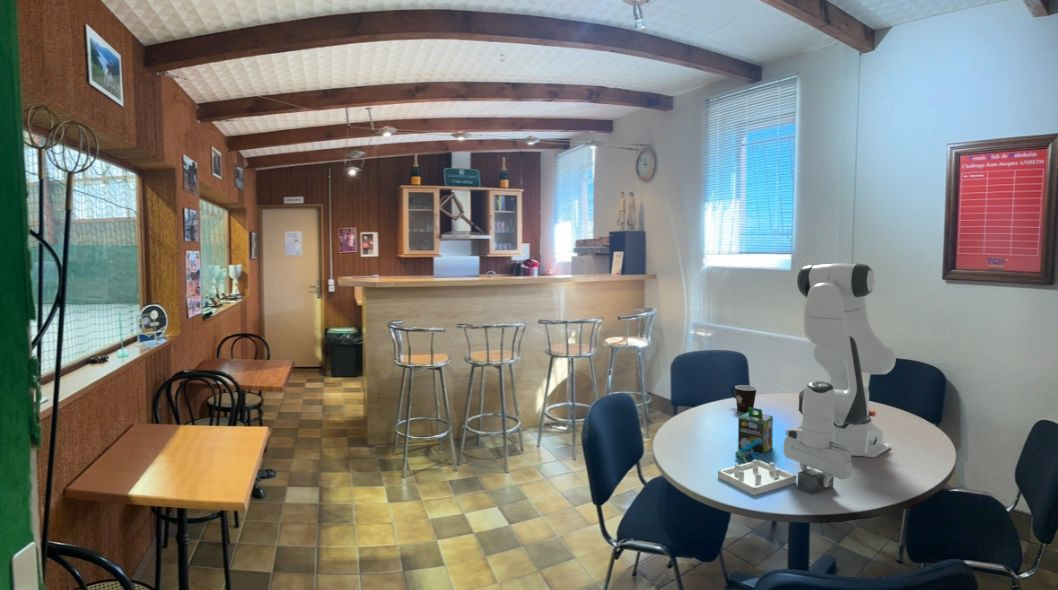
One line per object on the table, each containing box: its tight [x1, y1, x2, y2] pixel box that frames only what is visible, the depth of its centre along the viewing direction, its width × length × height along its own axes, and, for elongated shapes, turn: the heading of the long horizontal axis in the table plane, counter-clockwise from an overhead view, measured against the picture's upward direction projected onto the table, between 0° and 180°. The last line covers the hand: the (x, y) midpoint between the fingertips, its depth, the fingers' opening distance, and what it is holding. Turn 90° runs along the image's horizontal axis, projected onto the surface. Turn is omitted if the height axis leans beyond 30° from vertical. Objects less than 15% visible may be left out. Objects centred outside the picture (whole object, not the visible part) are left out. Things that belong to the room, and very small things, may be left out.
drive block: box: [797, 467, 835, 495], centre depth 168 cm, size 10×4×5 cm, turn 117°
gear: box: [734, 438, 761, 463], centre depth 190 cm, size 11×6×10 cm
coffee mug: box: [730, 384, 757, 414], centre depth 245 cm, size 12×9×10 cm
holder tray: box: [717, 459, 797, 496], centre depth 174 cm, size 18×14×4 cm
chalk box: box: [737, 407, 774, 455], centre depth 200 cm, size 9×9×15 cm
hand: (815, 482), depth 168 cm, fingers closed on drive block, 4 cm apart
